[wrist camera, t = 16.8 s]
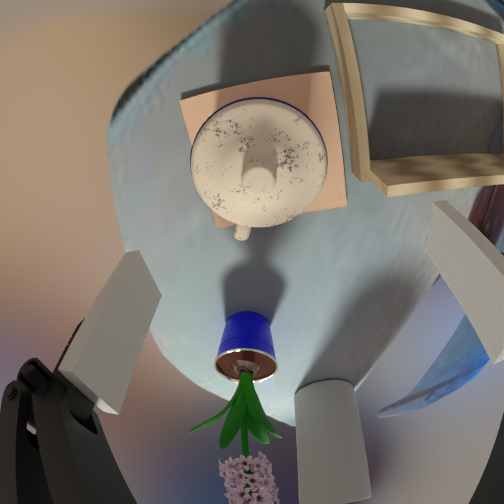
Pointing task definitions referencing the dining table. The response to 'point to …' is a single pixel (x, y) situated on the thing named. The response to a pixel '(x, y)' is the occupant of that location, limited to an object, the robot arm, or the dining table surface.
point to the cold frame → (378, 171)
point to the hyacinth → (246, 405)
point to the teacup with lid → (258, 163)
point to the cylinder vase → (330, 444)
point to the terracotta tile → (302, 97)
